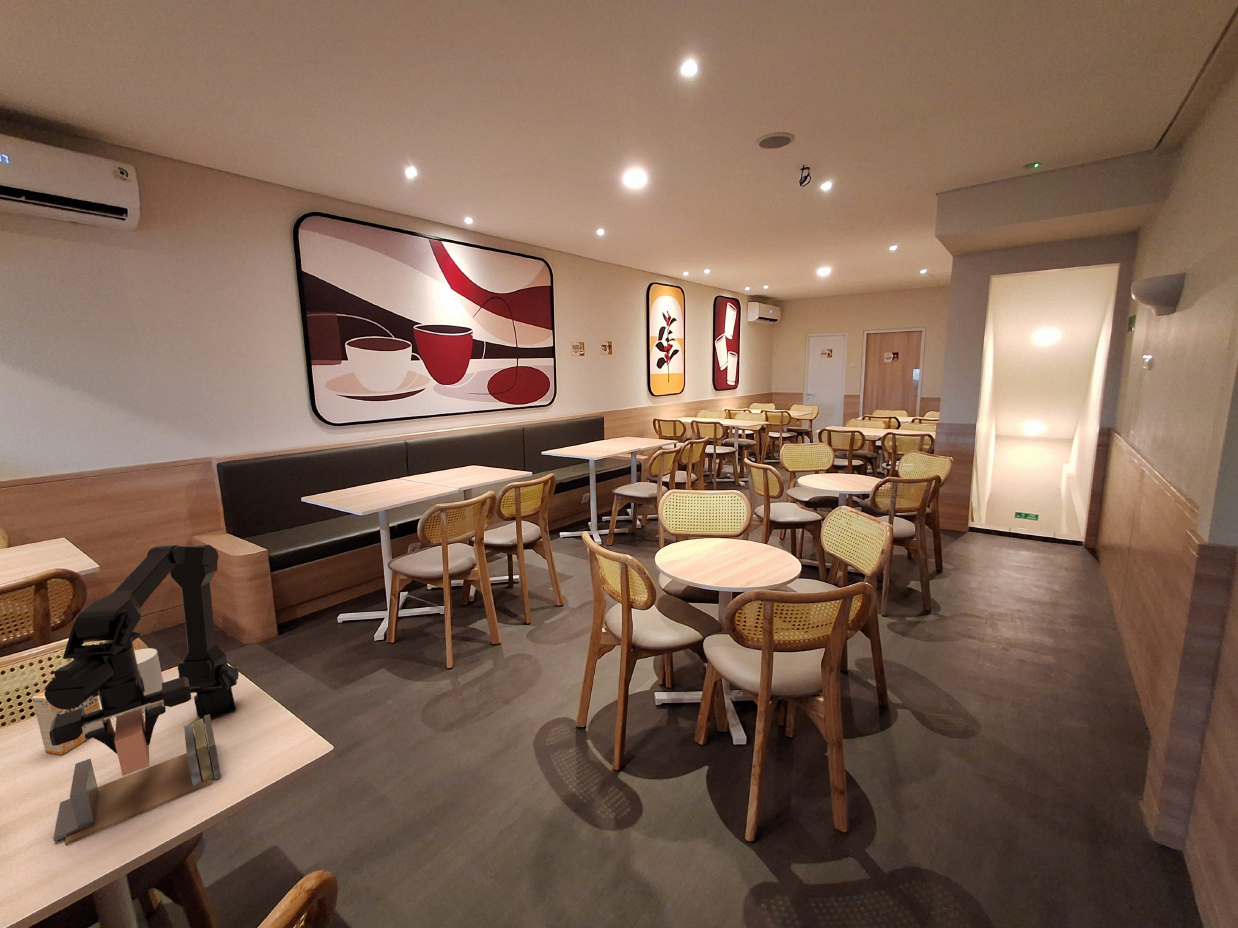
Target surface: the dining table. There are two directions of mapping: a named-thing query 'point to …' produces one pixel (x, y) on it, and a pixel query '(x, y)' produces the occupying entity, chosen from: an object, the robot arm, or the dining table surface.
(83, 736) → the supplement box
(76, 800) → the bookend
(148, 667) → the cup
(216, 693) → the robot arm
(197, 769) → the shelf
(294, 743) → the dining table surface
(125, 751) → the terracotta rectangular block
